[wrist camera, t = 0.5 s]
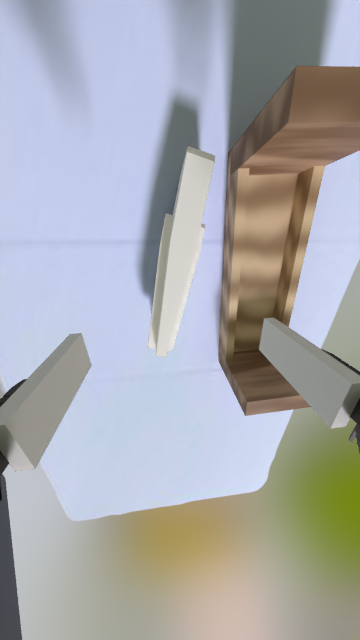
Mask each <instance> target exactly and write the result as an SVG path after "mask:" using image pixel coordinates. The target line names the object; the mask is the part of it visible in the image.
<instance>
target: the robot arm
mask: <svg viewBox="0 0 360 640" xmlns="http://www.w3.org/2000/svg"><path fill="white" fill-rule="evenodd" d="M259 350H260V351H261V352H262V353H263V355H264V356H265V357H266V358H267V359H268V360H269V361H270V362H271V363H272V364H273V366H274V367H275V368H276V369H277V370H278V371H279V372H280V373H281V374H282V375H283V377H284V378H285V379H286V380H287V381H288V382H289V383H290V384H291V385H292V387H293V388H294V389H295V390H296V391H297V392H298V393H299V394H300V395H301V396H302V398H303V399H304V400H305V401H306V402H307V403H308V404H309V405H310V406H311V407H312V408H313V410H314V411H315V412H316V413H317V414H318V415H319V416H320V417H321V419H322V420H323V421H324V422H325V423H326V424H327V425H328V426H329V427H330V428H338V427H345V426H346V425H347V423H348V421H349V419H350V417H351V418H352V419H353V420H354V421H355V422H356V423H357V425H356V426H355V428H354V430H353V432H352V433H351V435H350V438H349V441H351V442H352V441H353V440H354V438H355V437H357V444H358V447H359V452H360V372H359V371H358V370H356V369H355V368H353V367H352V366H349V364H347V363H346V362H344V361H342V360H341V359H340V358H338V357H337V356H335V355H334V354H332V353H329V352H327V351H325V350H322V349H320V348H318V347H317V346H315V345H314V344H312V343H311V342H309V341H308V340H306V339H305V338H304V337H302V336H301V335H299V334H298V333H296V332H295V331H293V330H292V329H290V328H289V327H287V326H286V325H284V324H283V323H281V322H280V321H278V320H277V319H275V318H264V322H263V328H262V334H261V339H260V345H259ZM90 367H91V362H90V359H89V356H88V353H87V349H86V346H85V343H84V340H83V336H82V333H79V334H70V335H69V336H68V337H67V338H66V339H65V340H64V341H63V342H62V343H61V344H60V345H59V346H58V347H57V348H56V349H55V350H54V351H53V353H52V354H51V355H50V356H49V357H48V358H47V359H46V360H45V361H44V362H43V363H42V364H41V365H40V366H39V367H38V368H37V369H36V370H35V371H34V372H33V373H32V375H31V376H30V377H29V378H28V379H24V380H22V381H21V382H19V383H18V384H16V385H15V386H13V387H12V388H11V389H10V390H9V391H8V392H7V393H6V394H5V395H4V396H3V398H1V399H0V640H22V635H21V627H20V626H21V625H20V615H19V606H18V597H17V587H16V578H15V568H14V558H13V548H12V539H11V531H10V530H11V529H10V519H9V510H8V501H7V491H6V481H5V477H4V476H3V474H2V473H3V471H4V470H5V468H6V467H7V465H8V464H10V466H11V467H12V468H13V470H14V471H15V472H17V471H24V470H32V469H35V468H36V466H37V465H38V463H39V461H40V459H41V457H42V455H43V454H44V452H45V450H46V448H47V446H48V444H49V443H50V441H51V439H52V437H53V435H54V433H55V432H56V430H57V428H58V426H59V424H60V422H61V421H62V419H63V417H64V415H65V413H66V411H67V409H68V408H69V406H70V404H71V402H72V400H73V398H74V397H75V395H76V393H77V391H78V389H79V387H80V386H81V384H82V382H83V380H84V378H85V376H86V375H87V373H88V371H89V369H90Z"/></svg>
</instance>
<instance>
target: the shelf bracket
mask: <svg viewBox="0 0 360 640" xmlns="http://www.w3.org/2000/svg"><path fill="white" fill-rule="evenodd" d="M214 162H215V156H214V155H212V154H209V153H206V152H204V151H201V150H198V149H195V148H193V147H190V146H188V147H187V151H186V155H185V159H184V162H183V166H182V170H181V174H180V179H179V184H178V190H177V191H178V192H177V195H176V200H175V206H174V211H173V215H170V214H165V219H164V225H163V230H162V236H161V242H160V247H159V255H158V263H157V272H156V280H155V289H154V298H153V306H152V315H151V323H150V332H149V341H148V348H154V349H156V356H162V357H166V356H167V353H168V351H173V348H174V344H175V341H176V337H177V333H178V330H179V326H180V323H181V319H182V315H183V312H184V308H185V305H186V301H187V297H188V294H189V290H190V286H191V283H192V279H193V276H194V272H195V268H196V265H197V261H198V257H199V254H200V249H201V245H202V240H203V235H204V231H205V224H201V223H202V219H203V214H204V209H205V205H206V200H207V195H208V190H209V186H210V181H211V176H212V172H213V167H214Z"/></svg>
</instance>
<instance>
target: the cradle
mask: <svg viewBox="0 0 360 640" xmlns="http://www.w3.org/2000/svg"><path fill="white" fill-rule="evenodd" d="M359 150H360V67H332V66H296V67H295V69H294V70H293V71H292V72H291V74H290V75H289V76H288V78H287V79H286V80H285V81H284V83H283V84H282V85H281V87H280V88H279V89H278V90H277V92H276V93H275V94H274V95H273V97H272V98H271V99H270V101H269V102H268V103H267V104H266V106H265V107H264V108H263V109H262V111H261V112H260V113H259V115H258V116H257V117H256V118H255V120H254V121H253V122H252V124H251V125H250V126H249V127H248V129H247V130H246V131H245V132H244V134H243V135H242V136H241V138H240V139H239V140H238V141H237V143H236V144H235V145H234V146H233V148H232V149H231V150H230V152H229V153H228V173H227V194H226V216H225V237H224V259H223V280H222V301H221V323H220V344H219V363H220V365H221V367H222V369H223V371H224V373H225V375H226V377H227V379H228V381H229V383H230V385H231V387H232V389H233V392H234V394H235V396H236V398H237V400H238V402H239V404H240V406H241V408H242V410H243V412H244V414H245V416H247V415H254V414H262V413H269V412H277V411H284V410H292V409H299V408H306V407H311V406H310V405H309V404H308V403H307V402H306V401H305V400H304V399H303V398H302V396H301V395H300V394H299V393H298V392H297V391H296V390H295V389H294V388H293V387H292V385H291V384H290V383H289V382H288V381H287V380H286V379H285V378H284V377H283V375H282V374H281V373H280V372H279V371H278V370H277V369H276V368H275V367H274V366H273V364H272V363H271V362H270V361H269V360H268V359H267V358H266V357H265V356H264V355H263V353H262V352H261V351H260V350H259V345H260V339H261V334H262V328H263V322H264V318H275V319H277V320H278V321H280V322H281V323H283V324H284V325H286V326H287V327H289V322H290V318H291V314H292V309H293V305H294V300H295V296H296V291H297V287H298V283H299V278H300V274H301V269H302V265H303V260H304V256H305V252H306V247H307V243H308V238H309V234H310V229H311V225H312V221H313V216H314V212H315V207H316V203H317V198H318V194H319V190H320V185H321V181H322V176H323V172H324V167H325V166H326V165H328V164H330V163H332V162H335V161H337V160H339V159H341V158H343V157H346V156H348V155H350V154H352V153H355V152H357V151H359Z"/></svg>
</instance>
